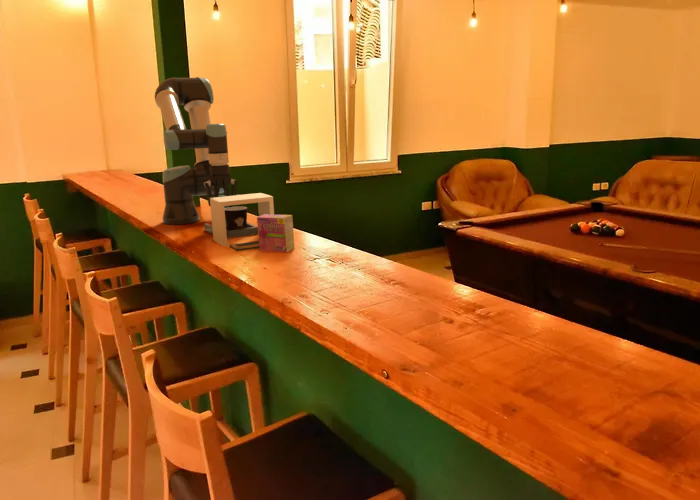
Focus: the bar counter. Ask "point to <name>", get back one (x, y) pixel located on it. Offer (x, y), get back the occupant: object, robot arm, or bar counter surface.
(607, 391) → the bar counter surface
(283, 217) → the box
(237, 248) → the dark slate tile
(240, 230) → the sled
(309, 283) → the bar counter surface
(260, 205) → the tunnel
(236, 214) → the coffee mug
